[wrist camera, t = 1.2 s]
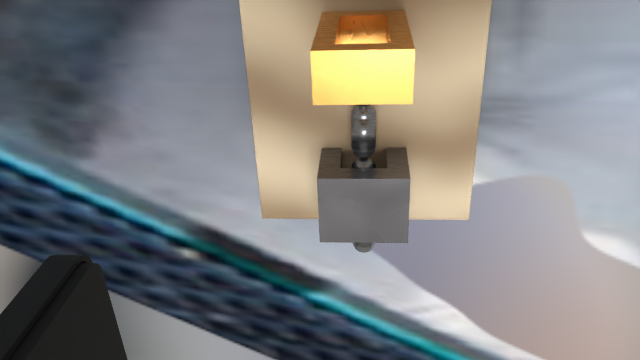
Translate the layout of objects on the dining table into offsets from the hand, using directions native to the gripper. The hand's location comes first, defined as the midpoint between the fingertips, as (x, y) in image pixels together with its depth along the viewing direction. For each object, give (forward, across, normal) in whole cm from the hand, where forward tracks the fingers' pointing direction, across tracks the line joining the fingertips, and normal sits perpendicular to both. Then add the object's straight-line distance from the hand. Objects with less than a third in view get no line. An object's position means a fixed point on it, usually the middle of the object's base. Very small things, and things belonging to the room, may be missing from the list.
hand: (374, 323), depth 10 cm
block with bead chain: (+18, 0, +5) cm, 19 cm away
